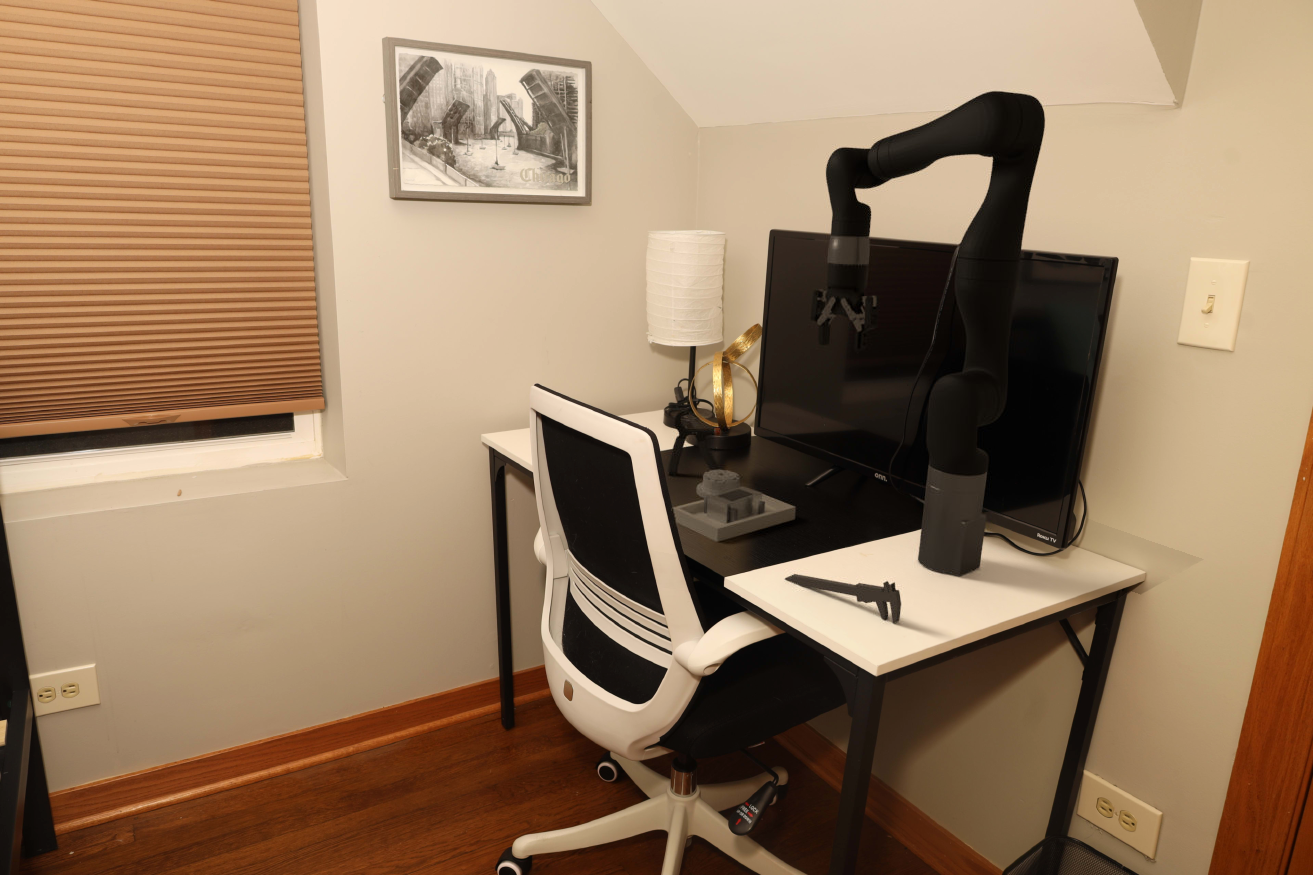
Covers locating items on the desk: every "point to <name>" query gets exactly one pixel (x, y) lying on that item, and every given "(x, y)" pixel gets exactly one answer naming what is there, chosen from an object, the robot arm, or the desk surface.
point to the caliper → (858, 593)
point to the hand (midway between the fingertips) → (841, 347)
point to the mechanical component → (717, 482)
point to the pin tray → (733, 518)
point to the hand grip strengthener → (701, 441)
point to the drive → (733, 504)
